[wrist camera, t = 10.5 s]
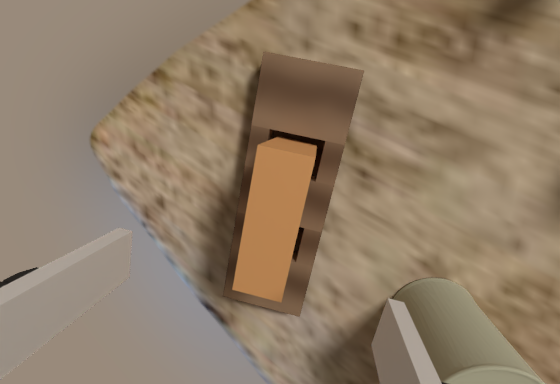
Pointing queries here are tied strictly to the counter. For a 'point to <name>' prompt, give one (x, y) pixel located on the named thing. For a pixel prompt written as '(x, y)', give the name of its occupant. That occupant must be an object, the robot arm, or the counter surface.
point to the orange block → (273, 216)
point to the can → (462, 336)
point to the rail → (305, 122)
